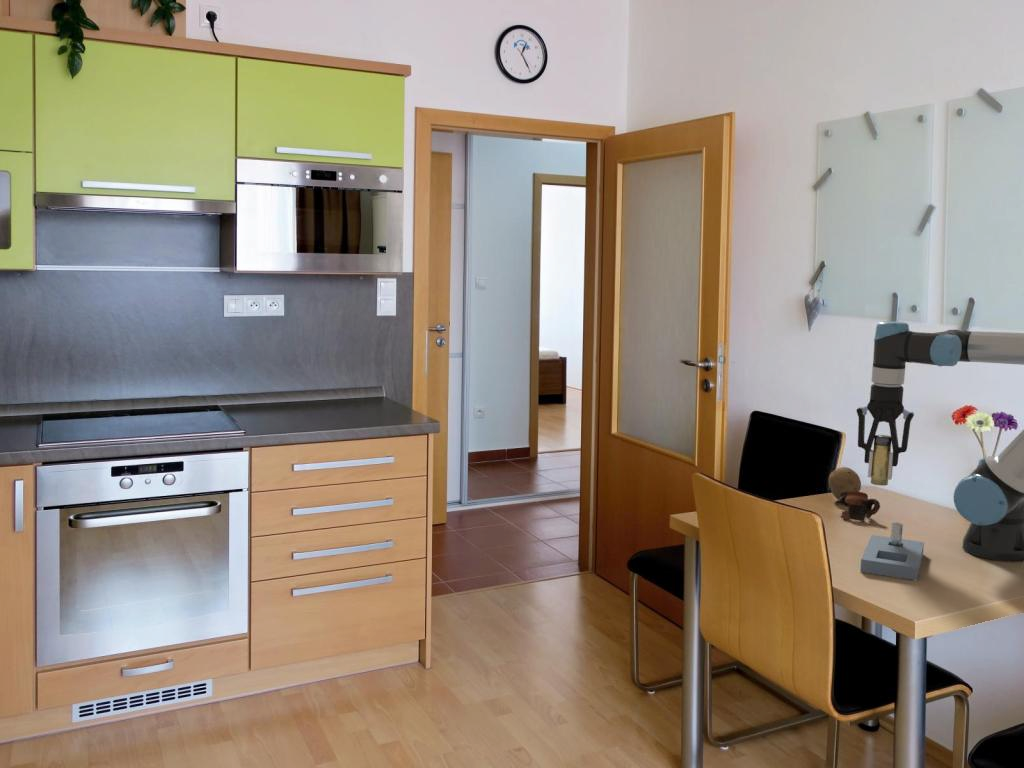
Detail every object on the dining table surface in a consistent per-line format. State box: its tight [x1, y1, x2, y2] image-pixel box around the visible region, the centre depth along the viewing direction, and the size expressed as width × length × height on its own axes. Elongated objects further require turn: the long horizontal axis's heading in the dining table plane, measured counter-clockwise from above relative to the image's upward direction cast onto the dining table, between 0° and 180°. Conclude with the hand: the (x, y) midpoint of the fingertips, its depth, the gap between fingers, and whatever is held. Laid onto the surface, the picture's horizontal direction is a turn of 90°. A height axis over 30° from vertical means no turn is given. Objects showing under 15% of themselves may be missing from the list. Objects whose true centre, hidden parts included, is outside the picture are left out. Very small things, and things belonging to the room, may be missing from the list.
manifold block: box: [859, 534, 925, 581], centre depth 233 cm, size 12×22×3 cm, turn 155°
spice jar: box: [870, 434, 892, 487], centre depth 247 cm, size 4×4×12 cm
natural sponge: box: [828, 466, 862, 501], centre depth 289 cm, size 9×9×10 cm
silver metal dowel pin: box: [890, 522, 904, 547], centre depth 238 cm, size 2×2×8 cm
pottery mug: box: [836, 491, 881, 522], centre depth 272 cm, size 12×10×8 cm
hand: (879, 477), depth 248 cm, fingers closed on spice jar, 4 cm apart
